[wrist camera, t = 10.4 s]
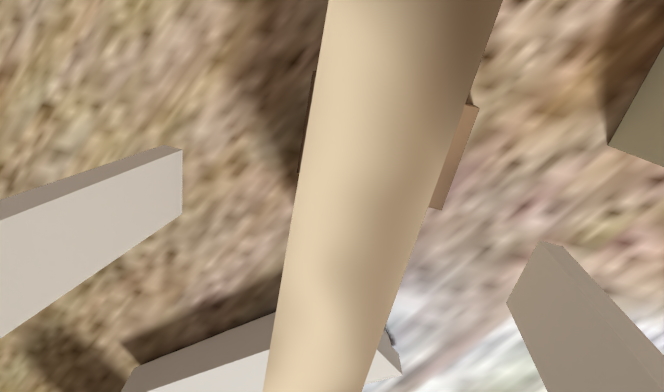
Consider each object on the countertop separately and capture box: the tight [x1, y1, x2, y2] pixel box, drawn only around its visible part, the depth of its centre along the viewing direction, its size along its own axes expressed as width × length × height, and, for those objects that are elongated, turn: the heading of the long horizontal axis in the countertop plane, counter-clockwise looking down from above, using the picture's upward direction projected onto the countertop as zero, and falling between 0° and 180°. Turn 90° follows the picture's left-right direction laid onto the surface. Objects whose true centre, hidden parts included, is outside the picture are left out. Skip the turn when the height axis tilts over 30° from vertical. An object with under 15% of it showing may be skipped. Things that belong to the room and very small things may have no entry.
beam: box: [263, 0, 503, 392], centre depth 17 cm, size 5×24×10 cm, turn 168°
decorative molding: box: [121, 312, 402, 392], centre depth 38 cm, size 34×5×10 cm
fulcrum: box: [297, 71, 480, 210], centre depth 24 cm, size 12×8×5 cm, turn 79°
